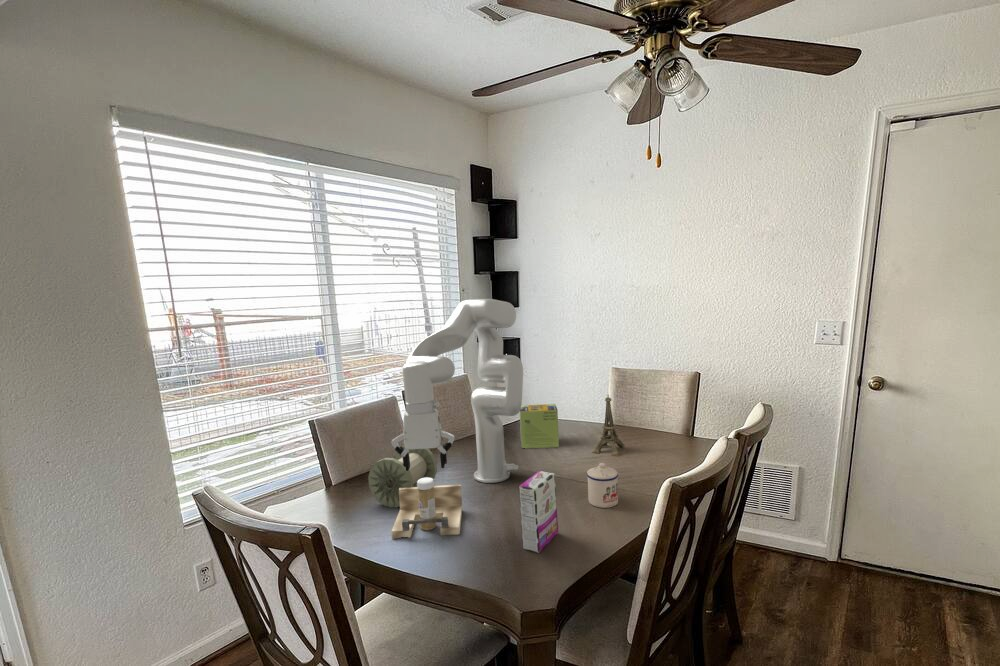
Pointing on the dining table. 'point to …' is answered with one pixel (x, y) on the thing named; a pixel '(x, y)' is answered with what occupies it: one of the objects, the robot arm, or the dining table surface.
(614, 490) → the teacup with lid
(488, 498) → the dining table surface
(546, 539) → the candy bar box
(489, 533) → the dining table surface
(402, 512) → the wooden stand
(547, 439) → the protein box
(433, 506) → the sprinkles bottle
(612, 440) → the eiffel tower
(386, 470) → the spool
